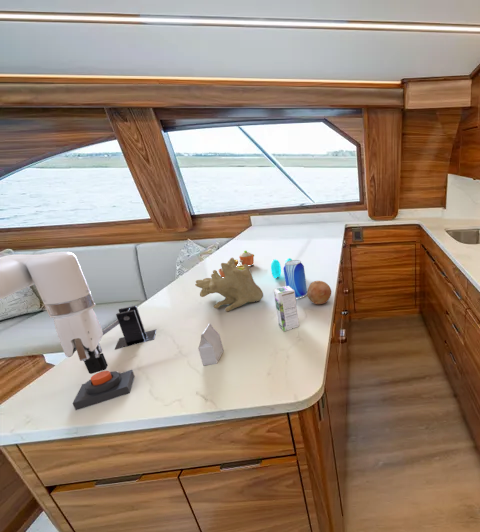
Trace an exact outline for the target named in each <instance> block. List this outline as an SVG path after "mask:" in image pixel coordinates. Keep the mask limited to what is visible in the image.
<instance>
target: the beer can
mask: <svg viewBox="0 0 480 532" xmlns="http://www.w3.org/2000/svg"><path fill="white" fill-rule="evenodd" d="M283 276H284V282H285V286H290V287H291V288H292V289H293V290H294V291H295V298H300V297H303V296H305V295H307V291H308V288H307V280H306V271H305V266H304V264H303V263H302V261H301V260H300V259H292V260H291V261H287V262H285V261H284V266H283ZM305 297H306V296H305Z"/></svg>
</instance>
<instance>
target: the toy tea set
mask: <svg viewBox="0 0 480 532" xmlns="http://www.w3.org/2000/svg"><path fill="white" fill-rule="evenodd" d="M254 257H255V254H254V253H252V252H249V251H248V250H243V252H242V253H240V255H239V259H235V258H234V261H235V265H236V266H237V264H238V263H240V266H237V268H238V269H239V270H244V269H245V267H244V264H247V266H248V265H252V264H253V263H254V262H255V261H254V260H255V259H254ZM228 262H229V260H227V262H225V263H226V264H227V263H228ZM217 272H218V274H219V275H220V276H221V277H225V274H224V272H223V270H222V268H219V269H218V271H217Z"/></svg>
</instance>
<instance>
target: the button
mask: <svg viewBox="0 0 480 532" xmlns="http://www.w3.org/2000/svg"><path fill="white" fill-rule="evenodd" d="M110 372H111V371H110V370H103V371H99V372H96V373H94V374H93V375H92V376H91V377H90V379H91V381H92V384H93V385H99V384H103V383H105V382H107V381H109V380H110V379H112V376H111V373H110Z"/></svg>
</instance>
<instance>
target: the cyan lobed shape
mask: <svg viewBox="0 0 480 532" xmlns="http://www.w3.org/2000/svg"><path fill="white" fill-rule="evenodd" d="M291 260H293V259H292V258H291V257H289V258H286V259H285V261H284V263H285V262H287V261H291ZM270 271H271V275H272V277H273V278H274V279H275V278H277V277H279V276H280V277H281V274H282V268H281V263H280V261H279V260H278V259H276V258H275V259H272V261H271V262H270ZM280 277H279V278H280ZM277 279H278V278H277Z"/></svg>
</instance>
